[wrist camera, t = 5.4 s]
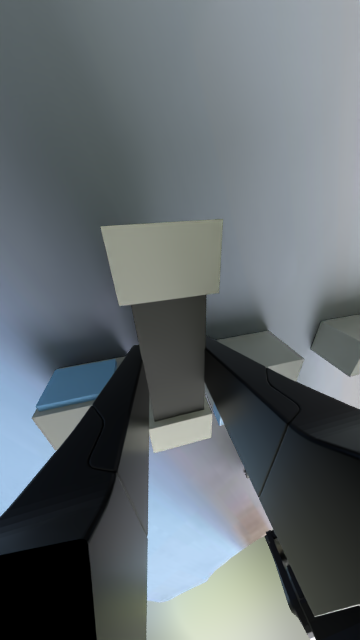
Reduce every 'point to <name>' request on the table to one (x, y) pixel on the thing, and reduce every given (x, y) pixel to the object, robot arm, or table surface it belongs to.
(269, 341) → the grey block row
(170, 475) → the table surface
